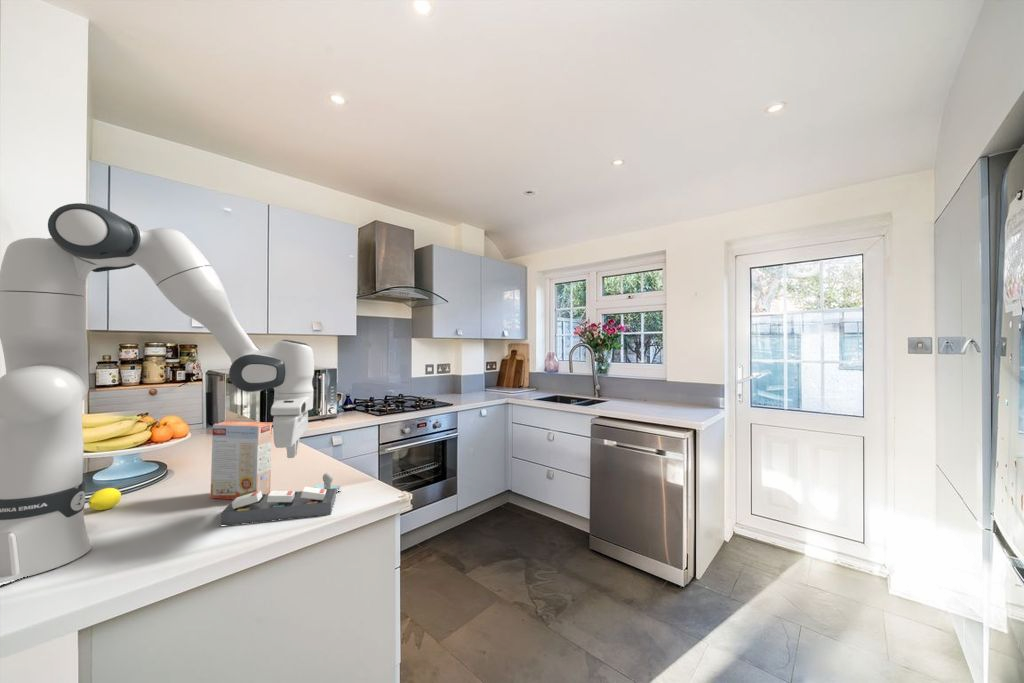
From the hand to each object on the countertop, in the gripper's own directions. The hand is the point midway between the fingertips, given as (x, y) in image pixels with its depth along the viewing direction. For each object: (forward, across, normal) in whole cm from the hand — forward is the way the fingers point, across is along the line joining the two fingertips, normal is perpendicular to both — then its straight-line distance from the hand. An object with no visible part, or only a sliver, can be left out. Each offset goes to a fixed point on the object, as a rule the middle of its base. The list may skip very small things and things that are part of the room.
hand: (292, 456), depth 99 cm
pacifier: (+15, -14, +8) cm, 22 cm away
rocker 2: (+10, 0, -2) cm, 10 cm away
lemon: (+15, -16, -46) cm, 51 cm away
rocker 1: (+10, 0, -10) cm, 14 cm away
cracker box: (+15, -17, -16) cm, 28 cm away
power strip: (+15, -2, -2) cm, 15 cm away
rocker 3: (+10, 0, +5) cm, 11 cm away
